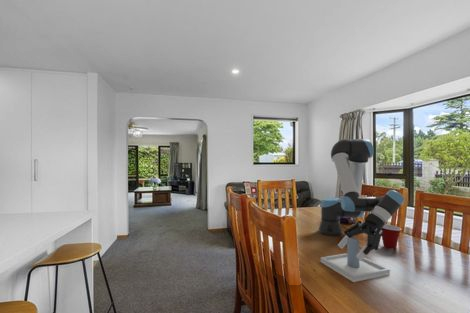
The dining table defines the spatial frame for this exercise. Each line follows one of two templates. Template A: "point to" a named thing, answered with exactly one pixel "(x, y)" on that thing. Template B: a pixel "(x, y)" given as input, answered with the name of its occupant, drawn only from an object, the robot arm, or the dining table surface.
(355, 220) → the decorative bottle
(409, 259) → the dining table surface
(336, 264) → the tray
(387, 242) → the plastic cup
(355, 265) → the dowel pin
